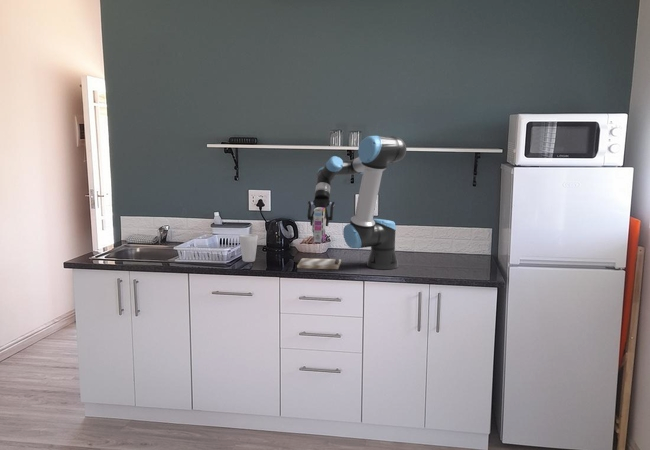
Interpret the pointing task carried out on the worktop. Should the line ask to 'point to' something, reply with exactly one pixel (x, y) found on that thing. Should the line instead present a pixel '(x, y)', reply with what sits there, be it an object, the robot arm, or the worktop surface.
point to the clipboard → (319, 263)
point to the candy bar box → (318, 225)
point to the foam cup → (248, 246)
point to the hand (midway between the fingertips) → (318, 230)
